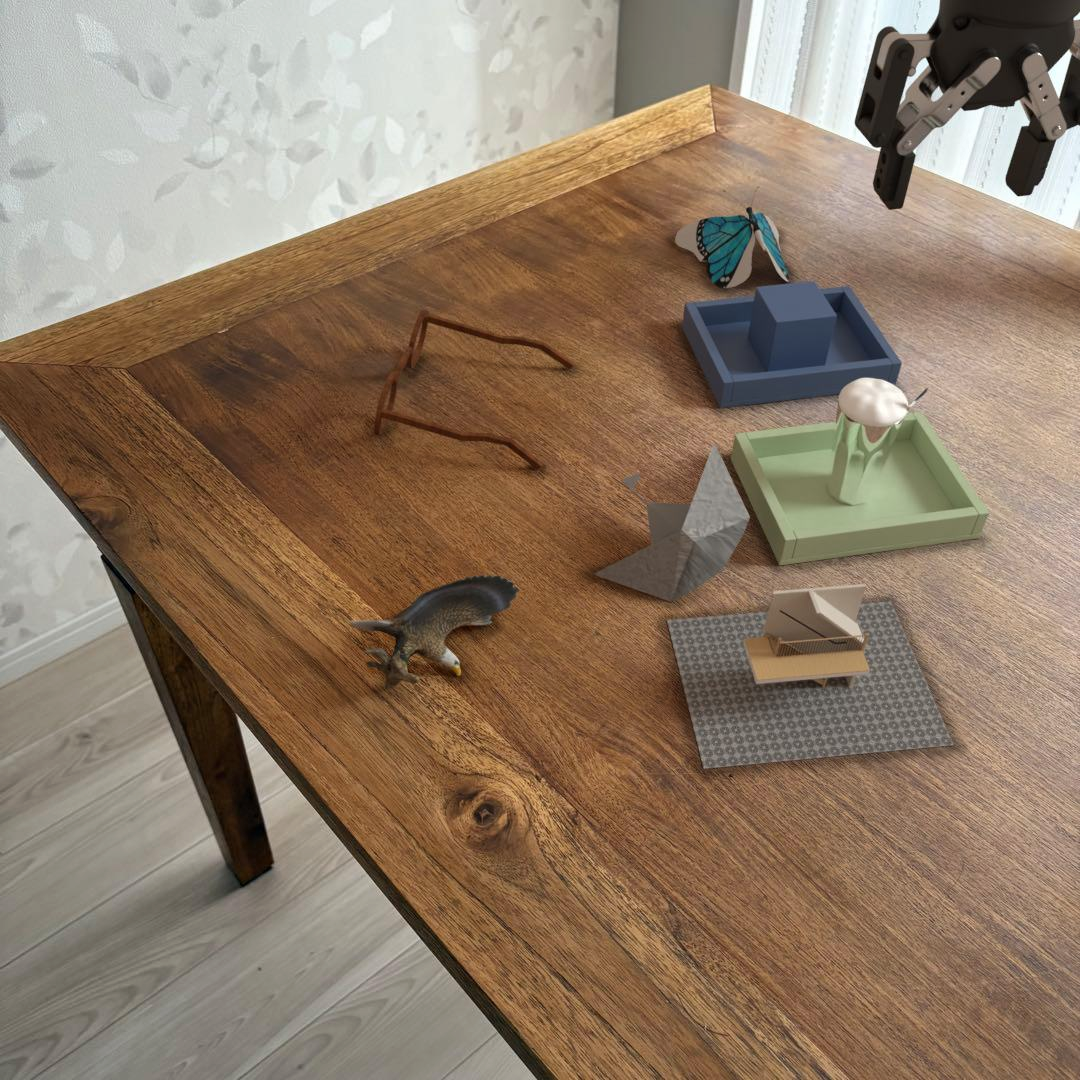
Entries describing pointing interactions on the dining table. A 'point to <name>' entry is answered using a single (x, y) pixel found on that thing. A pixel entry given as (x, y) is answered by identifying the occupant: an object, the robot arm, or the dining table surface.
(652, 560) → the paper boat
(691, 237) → the decorative butterfly
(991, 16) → the robot arm
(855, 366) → the blue tray
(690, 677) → the architectural model
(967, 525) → the green tray
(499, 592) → the eagle figurine
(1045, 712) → the dining table surface
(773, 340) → the block
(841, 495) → the milkshake
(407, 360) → the glasses
